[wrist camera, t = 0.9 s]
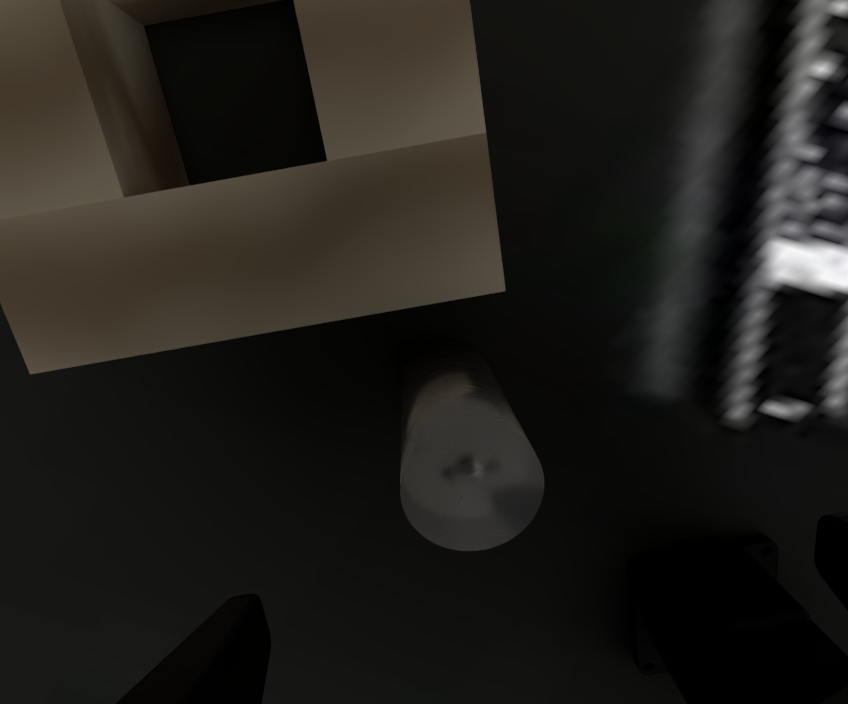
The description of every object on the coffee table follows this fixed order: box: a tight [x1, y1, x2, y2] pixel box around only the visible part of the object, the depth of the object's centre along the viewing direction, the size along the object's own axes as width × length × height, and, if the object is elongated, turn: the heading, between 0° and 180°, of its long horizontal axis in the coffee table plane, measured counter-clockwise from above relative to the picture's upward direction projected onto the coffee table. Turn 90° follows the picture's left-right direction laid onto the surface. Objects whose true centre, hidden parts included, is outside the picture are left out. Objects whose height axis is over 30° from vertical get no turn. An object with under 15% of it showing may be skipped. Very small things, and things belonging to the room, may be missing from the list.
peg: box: [400, 338, 544, 551], centre depth 16 cm, size 4×4×8 cm
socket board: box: [0, 0, 506, 374], centre depth 14 cm, size 14×14×4 cm
